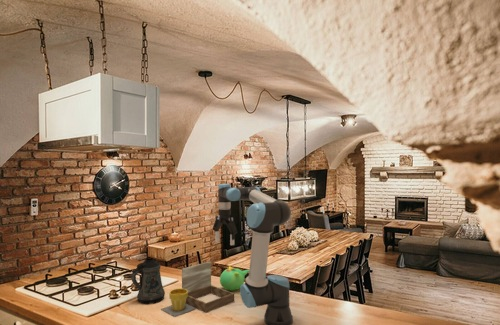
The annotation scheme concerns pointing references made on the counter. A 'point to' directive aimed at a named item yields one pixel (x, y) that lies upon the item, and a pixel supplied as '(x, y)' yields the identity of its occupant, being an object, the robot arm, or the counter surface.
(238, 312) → the counter surface
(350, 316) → the counter surface
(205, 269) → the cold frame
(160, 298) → the beer stein
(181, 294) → the plant pot
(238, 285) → the toy bird
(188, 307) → the slate pad
